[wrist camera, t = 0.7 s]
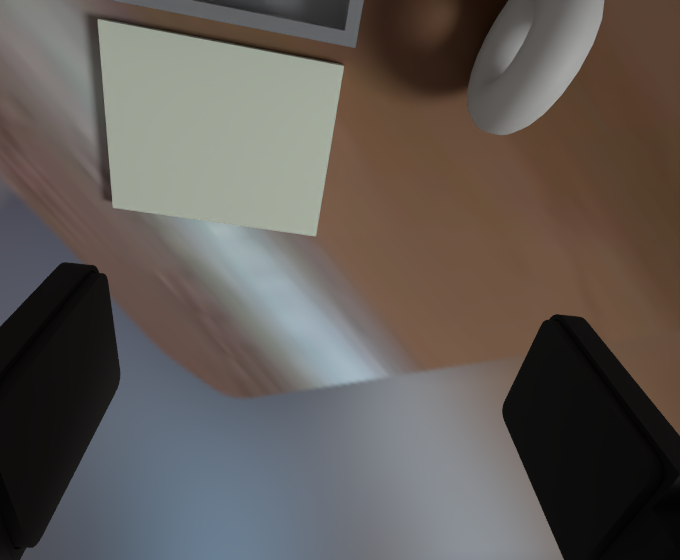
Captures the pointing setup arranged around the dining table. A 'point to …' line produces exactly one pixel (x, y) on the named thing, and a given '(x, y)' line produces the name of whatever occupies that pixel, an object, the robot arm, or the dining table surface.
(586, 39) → the donut
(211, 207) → the sage board
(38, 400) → the robot arm
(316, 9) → the parts bin
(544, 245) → the dining table surface
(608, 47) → the dining table surface
